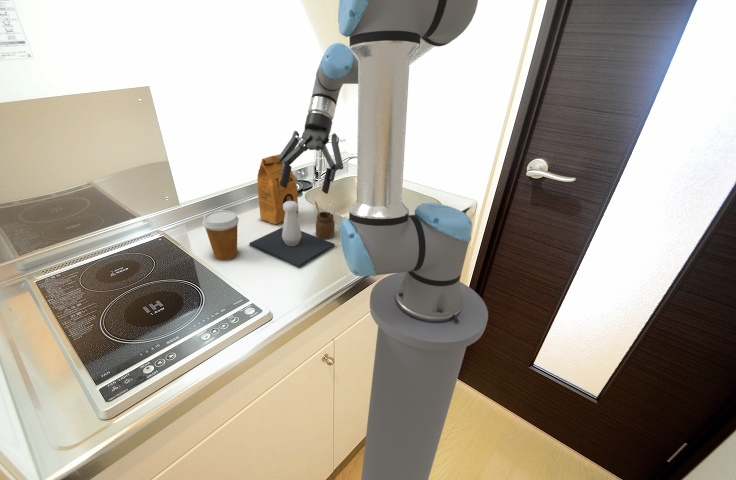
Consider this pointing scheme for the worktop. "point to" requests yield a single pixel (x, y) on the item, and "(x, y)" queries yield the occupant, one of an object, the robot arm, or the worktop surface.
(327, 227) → the brown jar with stick
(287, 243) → the salt shaker
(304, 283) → the worktop surface
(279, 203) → the coffee package
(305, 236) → the mat
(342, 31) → the robot arm
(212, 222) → the disposable coffee cup
